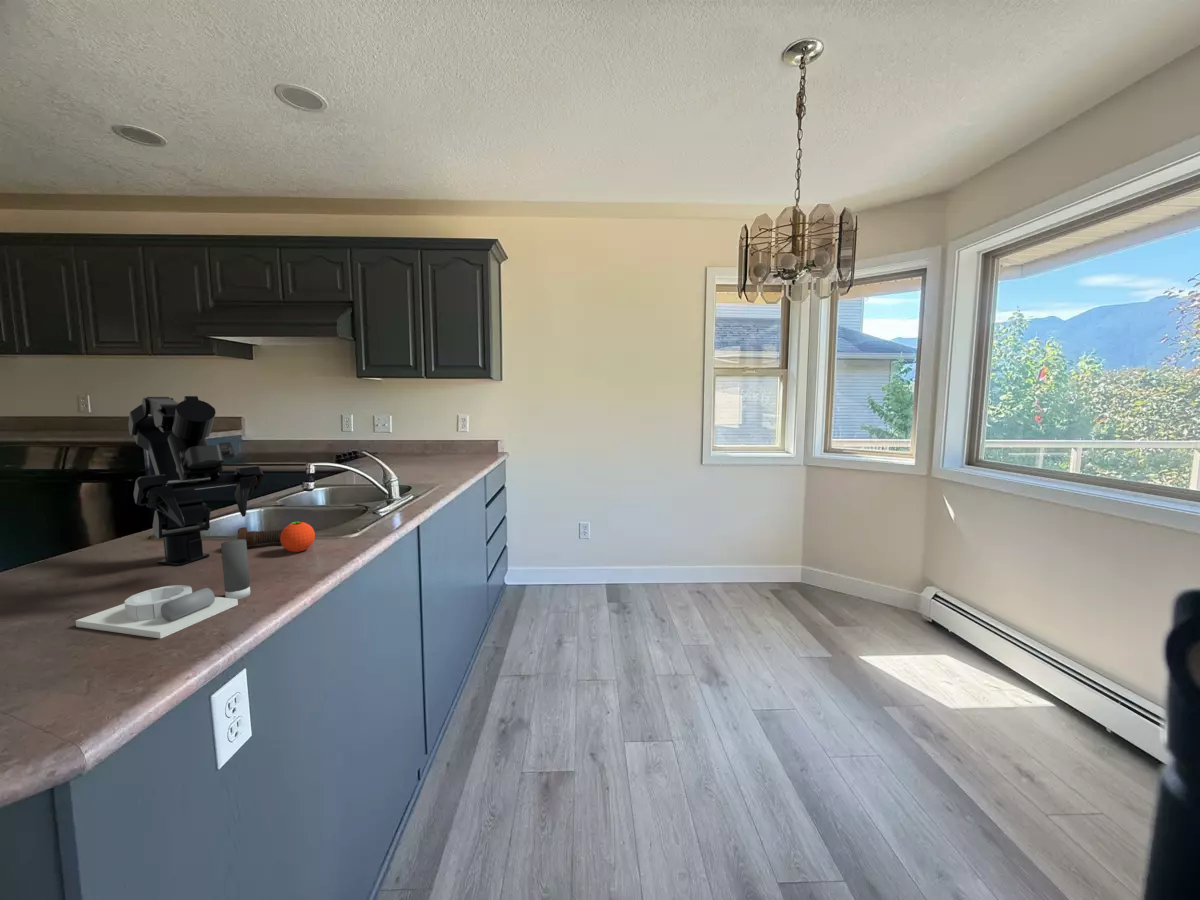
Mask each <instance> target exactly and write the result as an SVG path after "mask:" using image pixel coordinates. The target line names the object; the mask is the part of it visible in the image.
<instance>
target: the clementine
mask: <svg viewBox="0 0 1200 900" xmlns="http://www.w3.org/2000/svg"><path fill="white" fill-rule="evenodd" d="M315 540H316V533H315V530H314V528H313V526H311V525H310V524H309V523H307V522H304V521H294V522H289V524H288V525H286V526H285V527H284V528H283V531H282V533H281V536H280V541H281V542H280V544H281V546H282V547H283V548H284V549H285V550H287V551H290V552H293V553H300V551H301V552H303V551H305V550H307V549H309V548H311V546H312V545H313V544H314V541H315Z"/></svg>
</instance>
